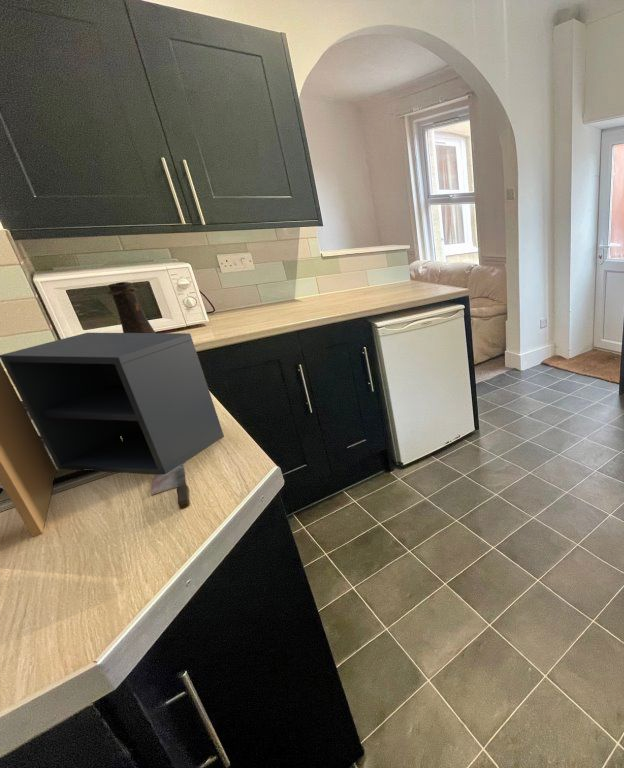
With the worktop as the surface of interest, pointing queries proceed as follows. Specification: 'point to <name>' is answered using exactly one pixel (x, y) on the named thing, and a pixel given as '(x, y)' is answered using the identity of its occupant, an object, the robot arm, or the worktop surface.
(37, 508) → the cupboard door
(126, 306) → the dark brown vase
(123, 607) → the worktop surface
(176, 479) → the cleaver
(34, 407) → the cupboard
